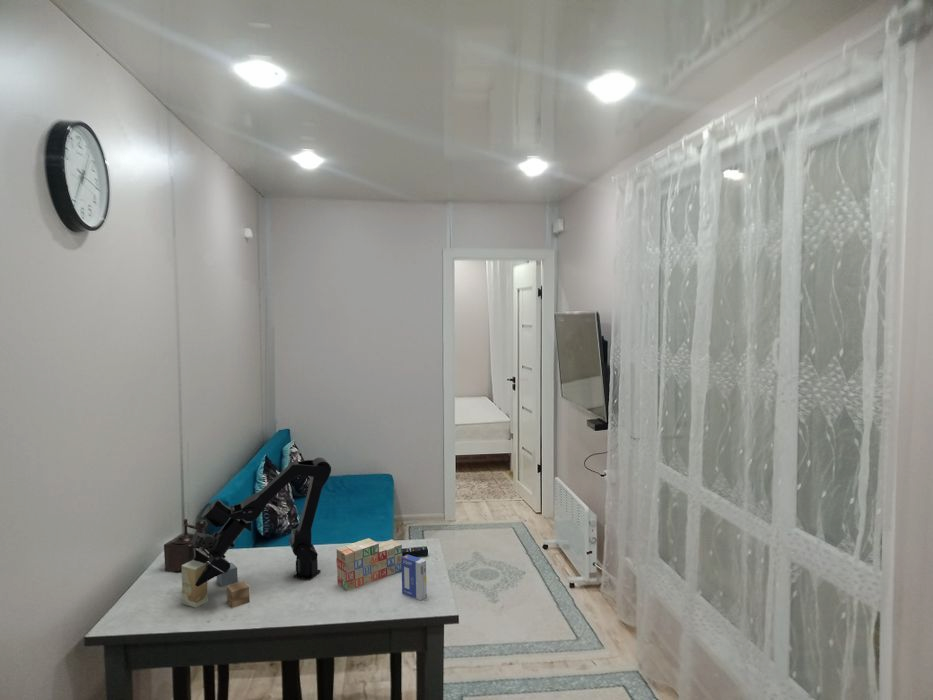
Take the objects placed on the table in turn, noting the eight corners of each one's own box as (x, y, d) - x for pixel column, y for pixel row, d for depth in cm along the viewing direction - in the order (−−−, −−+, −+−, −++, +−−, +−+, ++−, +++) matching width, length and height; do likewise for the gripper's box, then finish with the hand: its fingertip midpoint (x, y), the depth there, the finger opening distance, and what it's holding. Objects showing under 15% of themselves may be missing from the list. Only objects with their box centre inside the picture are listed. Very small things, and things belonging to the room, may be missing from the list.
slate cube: (232, 576, 190) (231, 562, 190) (237, 582, 187) (237, 567, 186) (216, 581, 187) (216, 566, 187) (222, 587, 183) (221, 572, 183)
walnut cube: (243, 596, 177) (243, 580, 177) (249, 602, 174) (248, 586, 173) (227, 601, 174) (226, 586, 174) (232, 608, 170) (232, 592, 170)
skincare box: (182, 603, 173) (180, 565, 172) (194, 597, 177) (192, 559, 176) (196, 608, 170) (194, 569, 169) (208, 601, 174) (207, 563, 173)
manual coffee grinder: (162, 572, 194) (159, 521, 193) (182, 558, 205) (179, 509, 204) (205, 574, 192) (202, 522, 191) (222, 559, 203) (220, 510, 202)
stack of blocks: (392, 564, 198) (392, 530, 197) (402, 571, 193) (402, 535, 192) (337, 584, 184) (335, 547, 183) (346, 591, 179) (345, 554, 178)
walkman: (402, 593, 178) (401, 556, 177) (407, 589, 180) (407, 553, 179) (421, 600, 173) (420, 562, 172) (427, 596, 175) (426, 559, 174)
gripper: (199, 514, 182) (162, 557, 175) (217, 531, 168) (178, 578, 161) (225, 531, 187) (190, 574, 181) (245, 549, 173) (209, 596, 167)
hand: (191, 580), depth 172 cm, fingers open, 9 cm apart
